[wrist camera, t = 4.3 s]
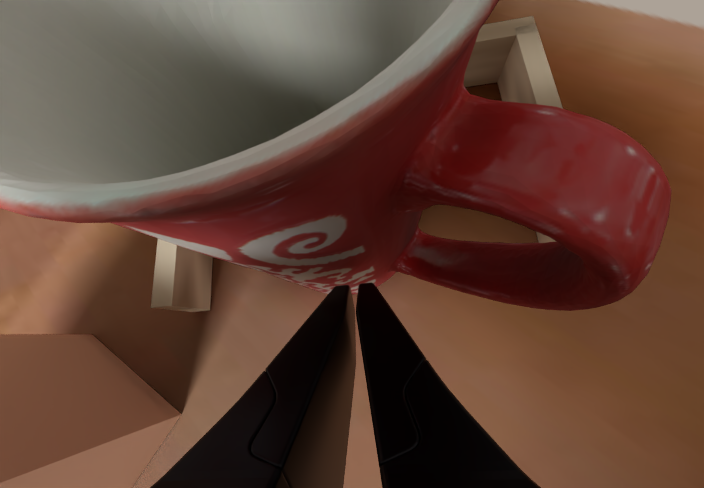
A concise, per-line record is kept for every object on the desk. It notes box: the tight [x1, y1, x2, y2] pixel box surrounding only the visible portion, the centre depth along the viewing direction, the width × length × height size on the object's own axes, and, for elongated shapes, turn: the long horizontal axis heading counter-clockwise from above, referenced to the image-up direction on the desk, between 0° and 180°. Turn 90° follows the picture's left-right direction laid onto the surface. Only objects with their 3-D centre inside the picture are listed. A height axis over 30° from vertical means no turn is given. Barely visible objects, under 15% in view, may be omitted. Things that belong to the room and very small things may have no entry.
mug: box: [0, 0, 671, 311], centre depth 10 cm, size 13×9×14 cm
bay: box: [151, 16, 563, 312], centre depth 16 cm, size 12×19×3 cm, turn 95°
